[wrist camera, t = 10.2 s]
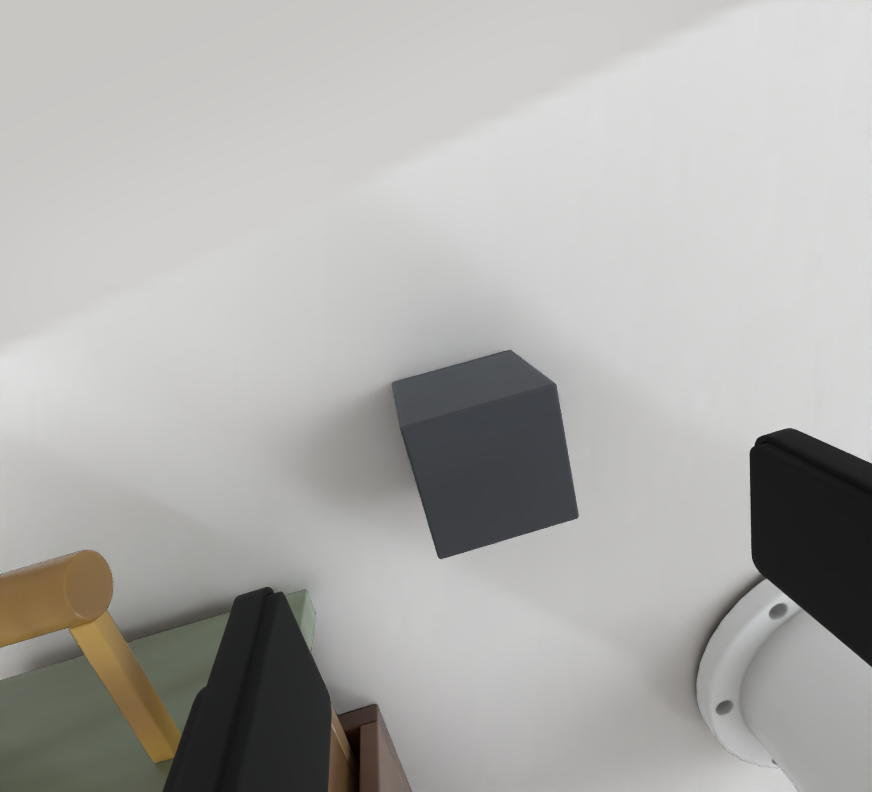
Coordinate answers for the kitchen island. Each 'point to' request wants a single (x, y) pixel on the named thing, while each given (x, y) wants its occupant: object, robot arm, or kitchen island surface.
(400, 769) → the cabinet
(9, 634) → the drawer
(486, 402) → the block
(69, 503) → the kitchen island surface
